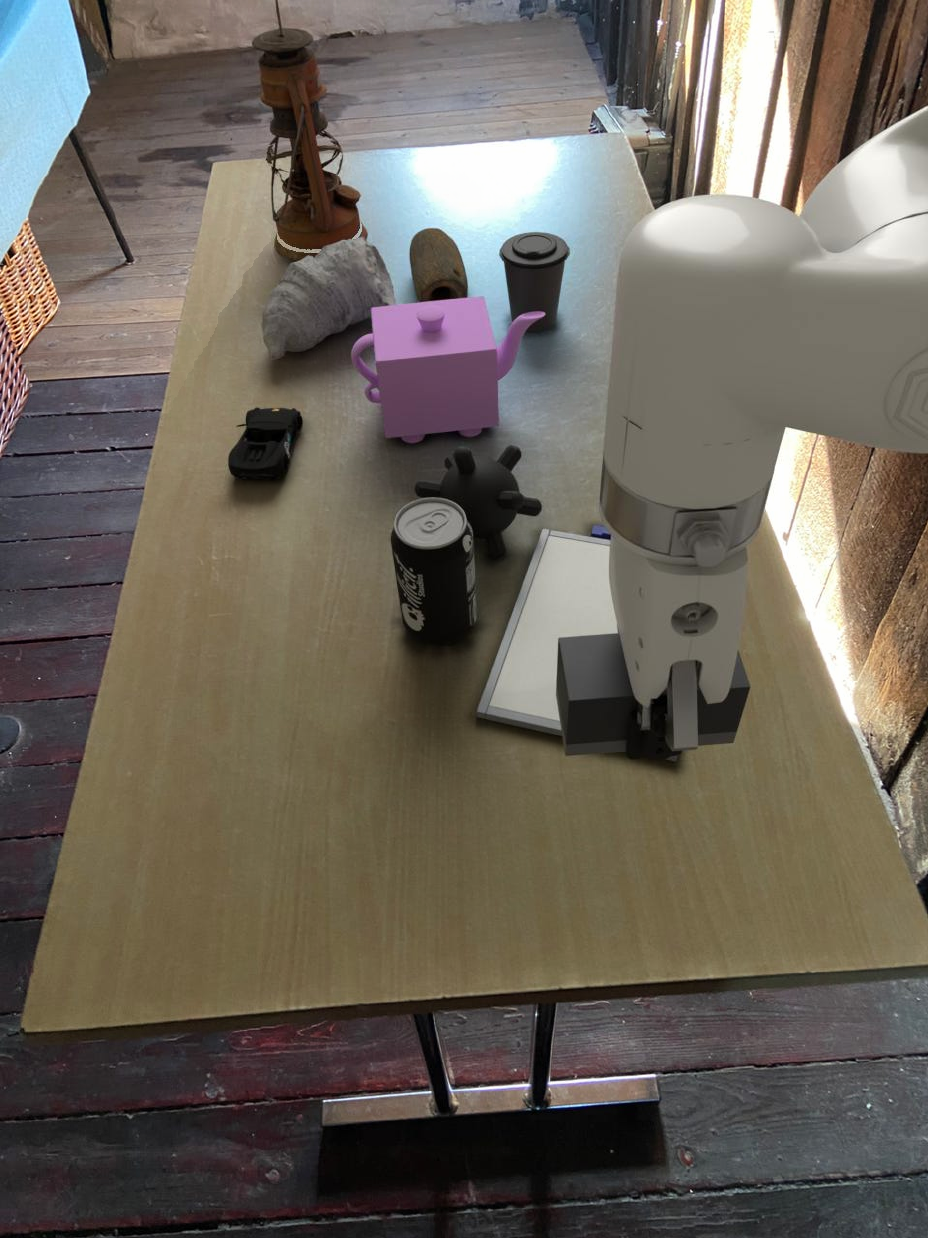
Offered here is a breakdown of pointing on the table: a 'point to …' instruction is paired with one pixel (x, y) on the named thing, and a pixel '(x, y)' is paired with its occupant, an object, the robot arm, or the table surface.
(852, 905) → the table surface
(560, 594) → the whiteboard
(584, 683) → the whiteboard eraser
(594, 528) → the blue bar
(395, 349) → the teapot
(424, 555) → the beverage can
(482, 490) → the toy ball
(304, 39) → the lantern
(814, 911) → the table surface
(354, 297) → the seashell
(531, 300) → the coffee cup
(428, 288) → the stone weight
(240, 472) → the toy car
